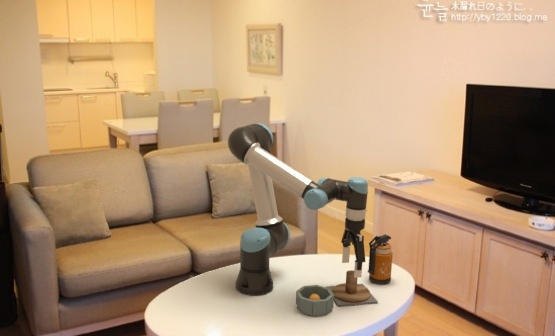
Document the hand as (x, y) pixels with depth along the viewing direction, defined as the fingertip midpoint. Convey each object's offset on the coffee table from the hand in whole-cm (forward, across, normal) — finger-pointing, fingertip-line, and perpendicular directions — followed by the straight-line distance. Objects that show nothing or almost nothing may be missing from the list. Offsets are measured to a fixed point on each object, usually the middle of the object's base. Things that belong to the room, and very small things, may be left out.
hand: (351, 269), depth 219 cm
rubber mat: (+11, 0, 0) cm, 11 cm away
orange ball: (+8, -7, +17) cm, 20 cm away
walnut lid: (+10, 0, 0) cm, 10 cm away
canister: (+11, +11, -16) cm, 23 cm away
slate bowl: (+11, -7, +16) cm, 21 cm away
